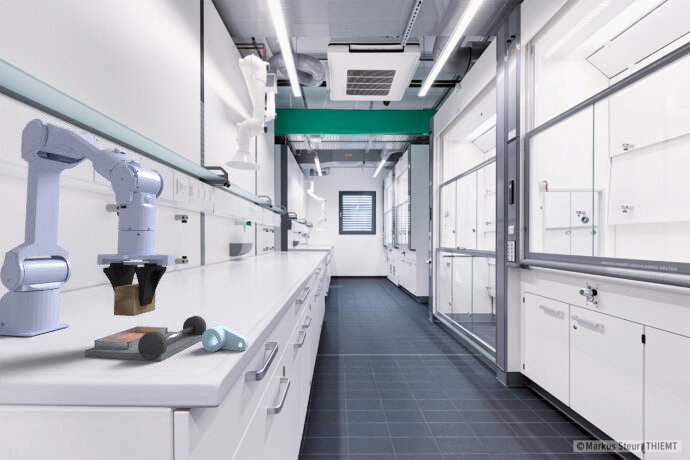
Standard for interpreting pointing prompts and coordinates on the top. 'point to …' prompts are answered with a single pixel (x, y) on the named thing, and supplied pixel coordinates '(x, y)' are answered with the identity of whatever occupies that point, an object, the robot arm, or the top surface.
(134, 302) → the block
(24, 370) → the top surface
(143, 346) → the chassis
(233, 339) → the mechanical part
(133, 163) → the robot arm
